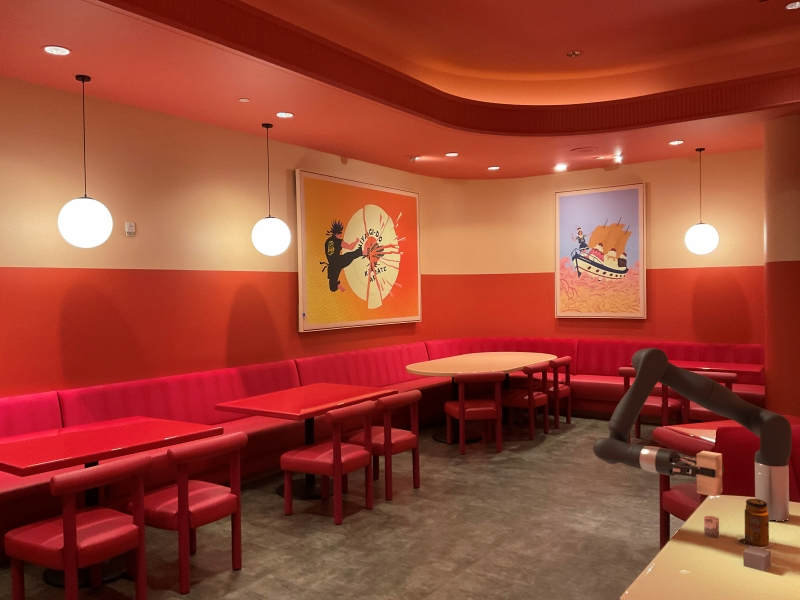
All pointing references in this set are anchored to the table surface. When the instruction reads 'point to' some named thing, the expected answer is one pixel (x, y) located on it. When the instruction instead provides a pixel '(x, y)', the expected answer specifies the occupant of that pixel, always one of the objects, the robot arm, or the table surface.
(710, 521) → the metal cylinder
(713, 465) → the maple block
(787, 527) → the table surface
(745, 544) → the condiment
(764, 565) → the rubber block
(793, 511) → the table surface
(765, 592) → the table surface
